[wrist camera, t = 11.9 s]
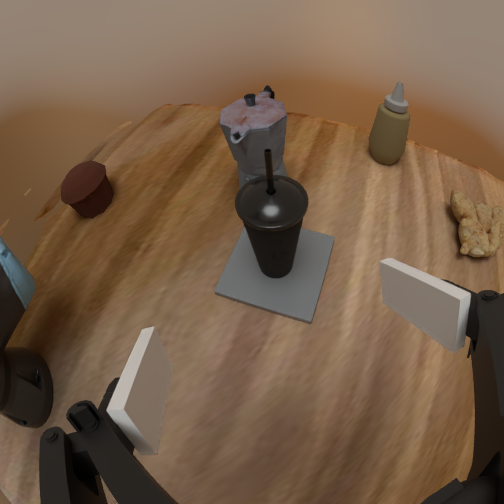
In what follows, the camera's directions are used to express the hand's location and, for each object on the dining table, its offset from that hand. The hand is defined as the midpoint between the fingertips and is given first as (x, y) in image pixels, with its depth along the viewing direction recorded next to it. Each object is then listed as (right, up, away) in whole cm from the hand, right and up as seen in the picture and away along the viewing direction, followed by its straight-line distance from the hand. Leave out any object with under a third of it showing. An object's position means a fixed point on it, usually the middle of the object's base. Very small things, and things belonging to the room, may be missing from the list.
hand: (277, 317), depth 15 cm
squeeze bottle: (+27, +24, +38) cm, 52 cm away
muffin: (-36, +14, +39) cm, 55 cm away
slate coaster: (+2, +1, +26) cm, 27 cm away
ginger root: (+40, +6, +25) cm, 48 cm away
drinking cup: (+2, +2, +26) cm, 26 cm away
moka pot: (+1, +14, +35) cm, 38 cm away
